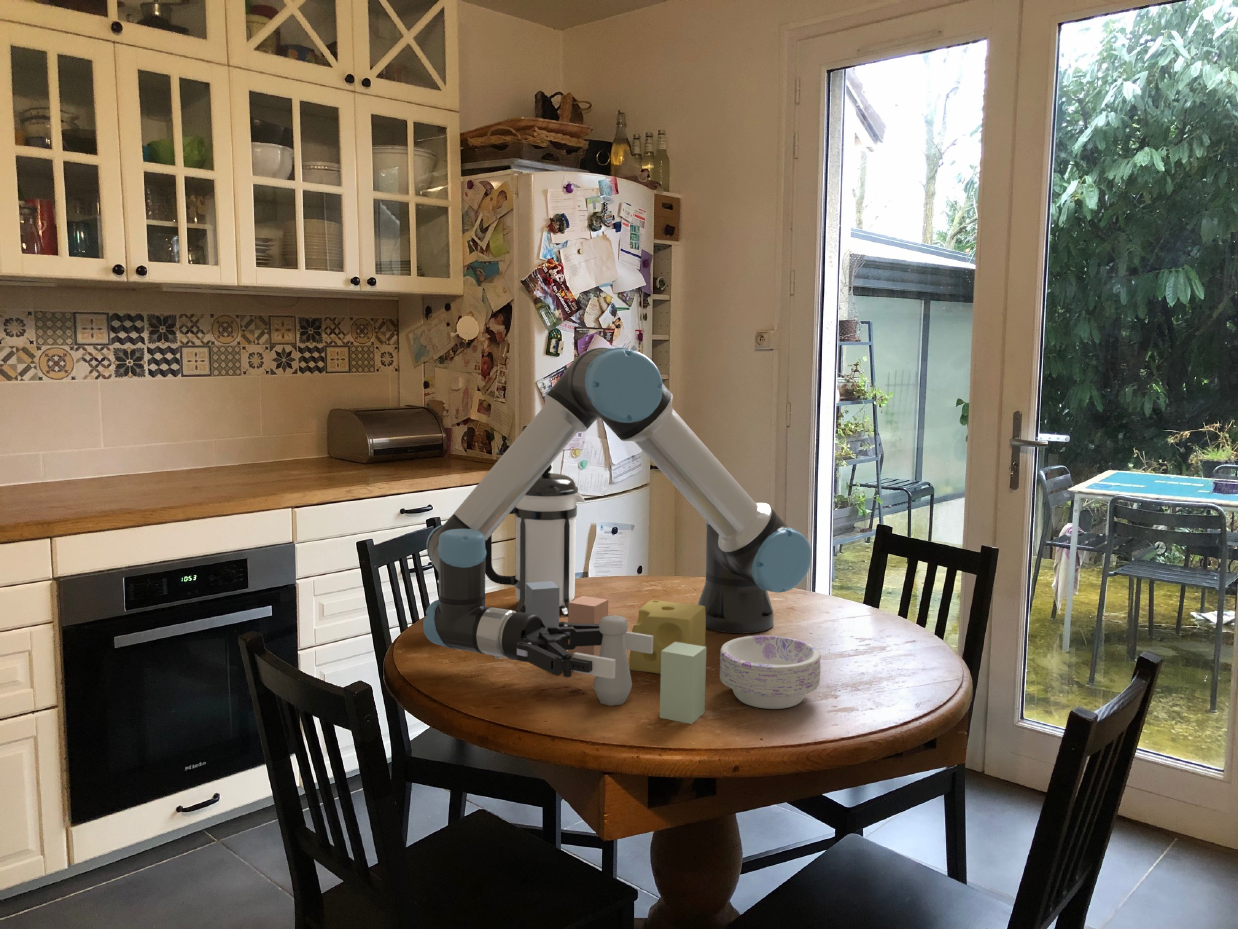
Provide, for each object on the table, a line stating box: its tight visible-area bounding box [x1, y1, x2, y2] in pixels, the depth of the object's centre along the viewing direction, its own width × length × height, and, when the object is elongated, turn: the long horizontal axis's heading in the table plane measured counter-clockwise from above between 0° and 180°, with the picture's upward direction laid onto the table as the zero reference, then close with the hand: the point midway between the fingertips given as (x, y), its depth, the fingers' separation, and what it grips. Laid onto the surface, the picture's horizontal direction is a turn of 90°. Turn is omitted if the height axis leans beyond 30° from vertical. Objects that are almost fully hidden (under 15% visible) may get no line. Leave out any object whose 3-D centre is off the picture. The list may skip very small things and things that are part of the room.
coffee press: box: [485, 464, 586, 616], centre depth 195 cm, size 17×16×30 cm
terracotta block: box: [567, 595, 609, 658], centre depth 167 cm, size 5×5×10 cm
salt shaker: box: [593, 614, 633, 706], centre depth 147 cm, size 6×6×13 cm
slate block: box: [525, 581, 560, 628], centre depth 177 cm, size 5×5×10 cm
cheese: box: [628, 599, 707, 675], centre depth 164 cm, size 10×11×10 cm
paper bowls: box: [719, 634, 822, 710], centre depth 149 cm, size 15×15×8 cm
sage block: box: [659, 642, 707, 725], centre depth 142 cm, size 5×5×10 cm
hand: (634, 656), depth 145 cm, fingers open, 12 cm apart
